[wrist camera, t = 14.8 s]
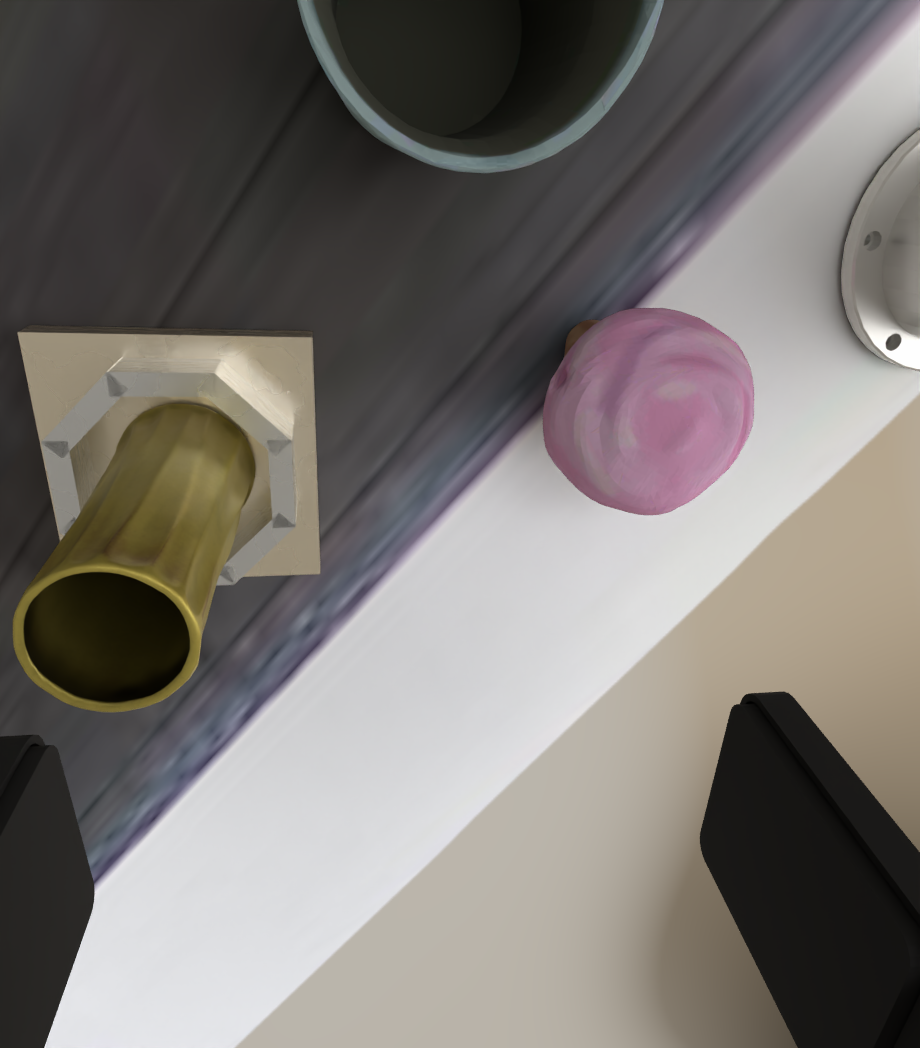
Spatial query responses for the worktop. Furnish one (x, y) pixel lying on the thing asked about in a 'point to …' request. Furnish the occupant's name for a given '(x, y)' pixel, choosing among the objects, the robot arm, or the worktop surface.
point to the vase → (138, 565)
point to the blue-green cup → (479, 72)
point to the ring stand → (197, 379)
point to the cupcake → (647, 409)
